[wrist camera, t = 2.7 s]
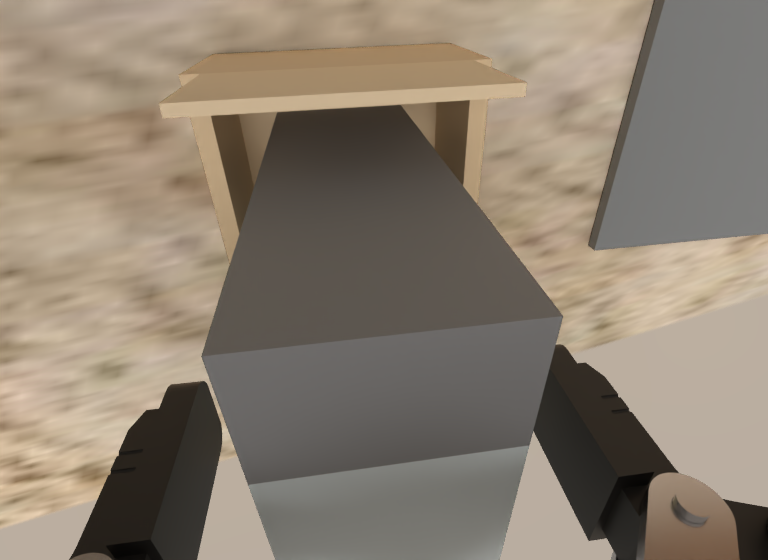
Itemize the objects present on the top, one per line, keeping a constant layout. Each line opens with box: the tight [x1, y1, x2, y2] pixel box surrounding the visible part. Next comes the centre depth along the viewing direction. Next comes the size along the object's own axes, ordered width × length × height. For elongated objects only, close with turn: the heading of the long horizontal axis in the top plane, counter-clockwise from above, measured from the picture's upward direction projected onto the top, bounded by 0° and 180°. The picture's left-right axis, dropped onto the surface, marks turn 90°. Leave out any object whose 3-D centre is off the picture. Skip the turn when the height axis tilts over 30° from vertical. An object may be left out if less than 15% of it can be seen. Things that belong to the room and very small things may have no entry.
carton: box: [159, 43, 527, 264], centre depth 16 cm, size 12×9×9 cm
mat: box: [589, 0, 768, 250], centre depth 21 cm, size 12×12×1 cm
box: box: [201, 105, 563, 560], centre depth 14 cm, size 8×5×14 cm, turn 2°
